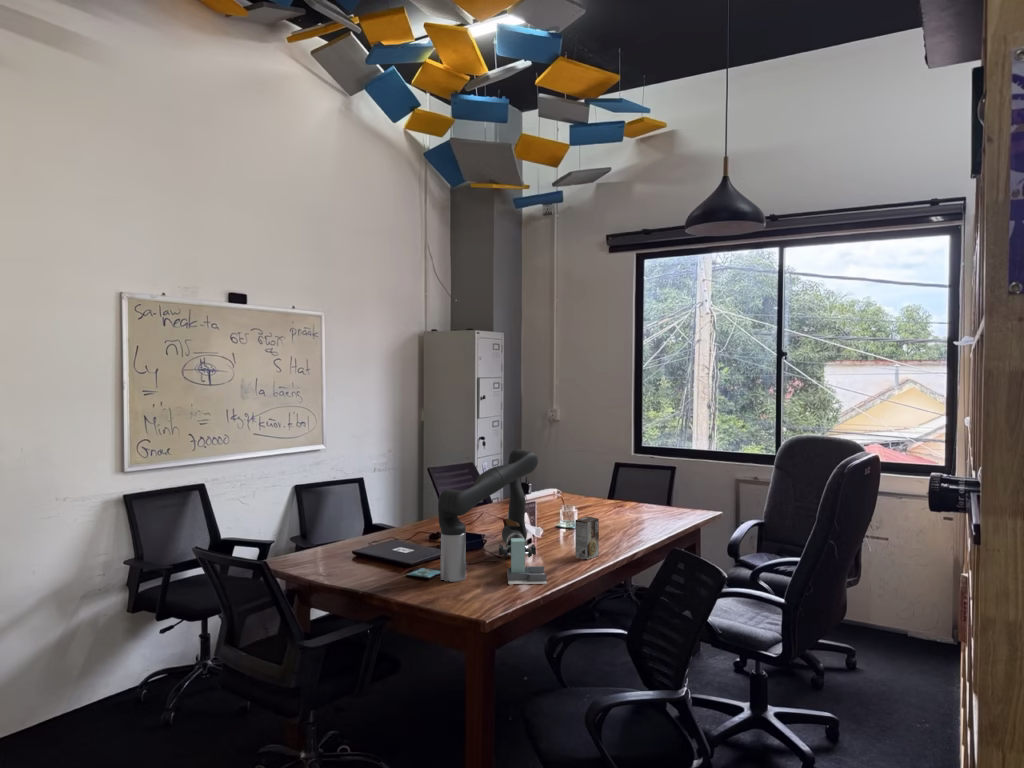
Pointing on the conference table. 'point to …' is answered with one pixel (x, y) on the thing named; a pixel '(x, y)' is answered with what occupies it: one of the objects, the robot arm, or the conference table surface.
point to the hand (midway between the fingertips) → (518, 554)
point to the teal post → (517, 555)
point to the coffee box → (586, 537)
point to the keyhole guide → (527, 576)
